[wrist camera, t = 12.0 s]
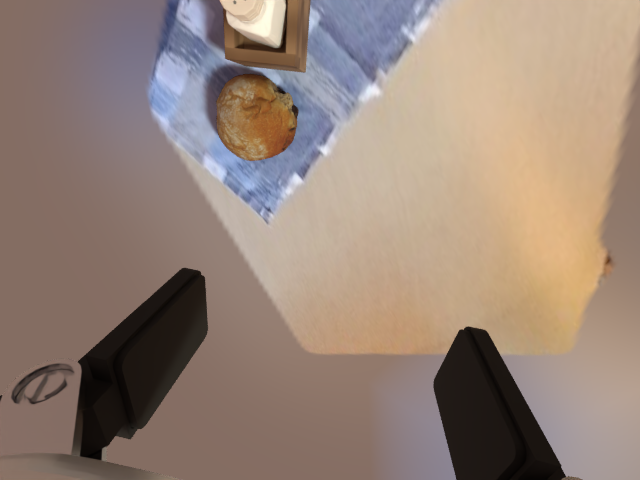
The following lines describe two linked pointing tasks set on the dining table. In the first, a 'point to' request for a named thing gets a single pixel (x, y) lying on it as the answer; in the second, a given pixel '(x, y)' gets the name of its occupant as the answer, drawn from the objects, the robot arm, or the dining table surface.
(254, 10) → the pepper shaker
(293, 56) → the wooden open box
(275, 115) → the bread roll
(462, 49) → the dining table surface
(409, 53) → the dining table surface
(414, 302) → the dining table surface
